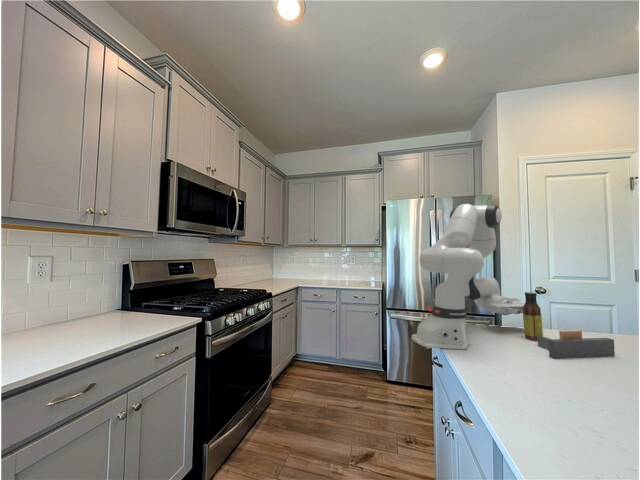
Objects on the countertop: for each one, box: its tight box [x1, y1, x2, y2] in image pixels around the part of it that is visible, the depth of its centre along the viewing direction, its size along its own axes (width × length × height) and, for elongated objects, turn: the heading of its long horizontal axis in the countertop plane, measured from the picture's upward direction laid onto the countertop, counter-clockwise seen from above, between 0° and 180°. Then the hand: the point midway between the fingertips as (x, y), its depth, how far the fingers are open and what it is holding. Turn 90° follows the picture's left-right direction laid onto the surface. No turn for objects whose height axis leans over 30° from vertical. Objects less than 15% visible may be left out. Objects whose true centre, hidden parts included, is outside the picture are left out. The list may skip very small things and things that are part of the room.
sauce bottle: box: [522, 291, 544, 342], centre depth 112 cm, size 7×6×20 cm
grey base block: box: [537, 335, 616, 360], centre depth 98 cm, size 24×12×6 cm, turn 96°
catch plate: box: [558, 329, 583, 339], centre depth 97 cm, size 8×1×7 cm, turn 96°
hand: (528, 312), depth 114 cm, fingers open, 8 cm apart
